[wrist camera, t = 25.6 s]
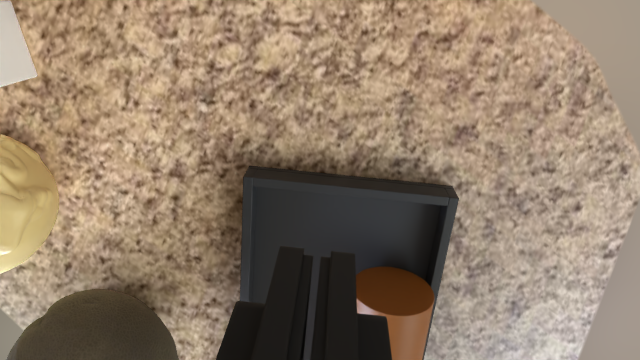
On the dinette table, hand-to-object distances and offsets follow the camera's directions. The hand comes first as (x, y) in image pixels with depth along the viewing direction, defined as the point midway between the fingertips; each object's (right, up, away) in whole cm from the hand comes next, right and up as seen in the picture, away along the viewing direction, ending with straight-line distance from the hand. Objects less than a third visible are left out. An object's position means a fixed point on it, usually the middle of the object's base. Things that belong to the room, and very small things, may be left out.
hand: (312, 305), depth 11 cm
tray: (+1, -13, +37) cm, 39 cm away
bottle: (+6, -6, +29) cm, 31 cm away
